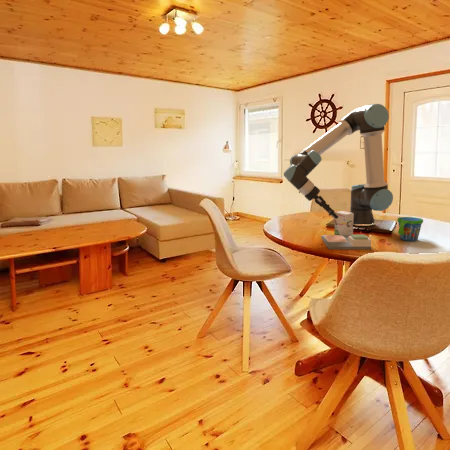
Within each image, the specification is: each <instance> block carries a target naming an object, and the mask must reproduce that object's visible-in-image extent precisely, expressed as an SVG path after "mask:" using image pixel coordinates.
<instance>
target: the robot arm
mask: <svg viewBox="0 0 450 450" xmlns="http://www.w3.org/2000/svg"><path fill="white" fill-rule="evenodd" d="M389 113H390V112H389V110H388V109H387V108H386V106H384V105H383V104H381V103H370V104H368V105H363V106H359V107H356V108H354V109H353V110H351V111H350V112H349V113H347V115H345V116H344V117H343V118H341V119H340V120H339V123H338V124H337V125H335V126H333V128H331V129H329V130H328V131H327V132H325V133H324V134H323V135H322V136H320V137H319V138H318V139H317V140H315V141H314V142H312V143H311V144H310V145H309V146H307V147H306V148H304V149H303V150H301V151H300V152H299V153H297V154H294V155H292V156H291V157H290V159H289V167H287V169H285V171H283V177H285V179H286V180H287V181H288V182H289V183H290V184H291V185H292V186H293V187H294V188H296V190H297V191H298V193H299V194H302V195H303V196H304V198H305V199H306V200H307V201H312V200H314V203H315V204H316V205H318V206H319V207H321V208H322V209H324V210H325V211H326V212H327V214H328V216H329V217H332V219H334V221H335V220H336V221H337V222H338V223H339V224H341V223H342V222H343V221H344V220H343V219H342V218H341V217H340V216H339V215H338V214H337V213H336V212H337V211H335V210H334V209H333V208H332V207H331V206H330V204H328V203H327V202H326V201H327V200H325V199H324V198H323V197H322V196H321V195H319V193H320V191H321V190H320V188H319V187H318V186H316V185H315V183H313V182H312V180H310V179H309V178H308V176H309V174H310V173H312V171H314V169H316V167H317V166H318V165H319V164H320V163H321V162H322V160H323V159H322V156H321V155H322V154H324V153H325V152H326V151H328V150H329V149H331V148H332V147H333V146H334V145H336V144H337V143H339V142H340V141H341V140H343V139H344V138H345V137H346V136H350V135H352V134H354V133H355V132H359V134H360V135H361V136H362V137H363V146H364V147H363V148H364V149H363V150H364V162H365V163H364V164H365V178H366V180H365V181H366V183H365V184H364V183H363V184H353V185H352V186H351V189H350V208H349V212H351V213H354V218H353V224H372V223H376V221H375V217H374V214H373V211H376V212H377V211H378V212H382V211H386V210H387V209H388V208H389V207H390V206H391V205H392V203H393V200H394V195H393V192H391V190H390V189H389V187H388V186H389V184H388V183H387V182H386V181H385V172H384V169H385V168H384V153H383V136H382V135H383V133H384V132H385V130H386V129H385V126H386V124H387V123H388V121H389V118H390V116H389V115H390V114H389Z"/></svg>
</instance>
